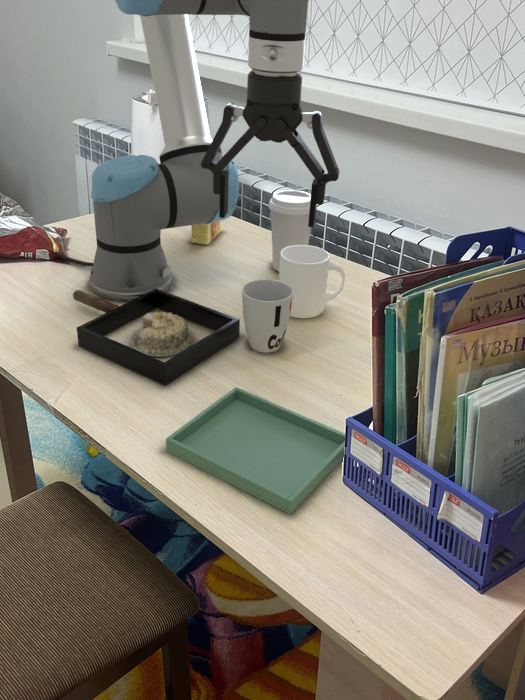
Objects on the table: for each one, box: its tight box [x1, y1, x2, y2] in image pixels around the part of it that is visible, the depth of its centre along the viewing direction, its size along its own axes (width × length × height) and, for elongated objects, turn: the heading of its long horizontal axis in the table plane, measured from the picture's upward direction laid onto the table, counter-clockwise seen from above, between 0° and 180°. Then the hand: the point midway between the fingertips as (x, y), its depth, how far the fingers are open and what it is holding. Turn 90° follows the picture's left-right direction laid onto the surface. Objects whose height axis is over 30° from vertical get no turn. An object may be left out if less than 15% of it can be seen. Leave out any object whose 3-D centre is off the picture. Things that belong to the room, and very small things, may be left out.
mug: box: [278, 244, 346, 319], centre depth 124 cm, size 9×12×11 cm
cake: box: [129, 311, 192, 358], centre depth 113 cm, size 10×10×5 cm
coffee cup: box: [267, 189, 318, 273], centre depth 138 cm, size 10×10×15 cm
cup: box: [241, 278, 293, 353], centre depth 112 cm, size 8×8×10 cm
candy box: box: [190, 220, 222, 246], centre depth 150 cm, size 9×4×15 cm, turn 164°
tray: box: [165, 386, 346, 515], centre depth 90 cm, size 19×15×2 cm
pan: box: [72, 288, 241, 386], centre depth 115 cm, size 29×19×4 cm, turn 56°
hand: (267, 219), depth 105 cm, fingers open, 13 cm apart
